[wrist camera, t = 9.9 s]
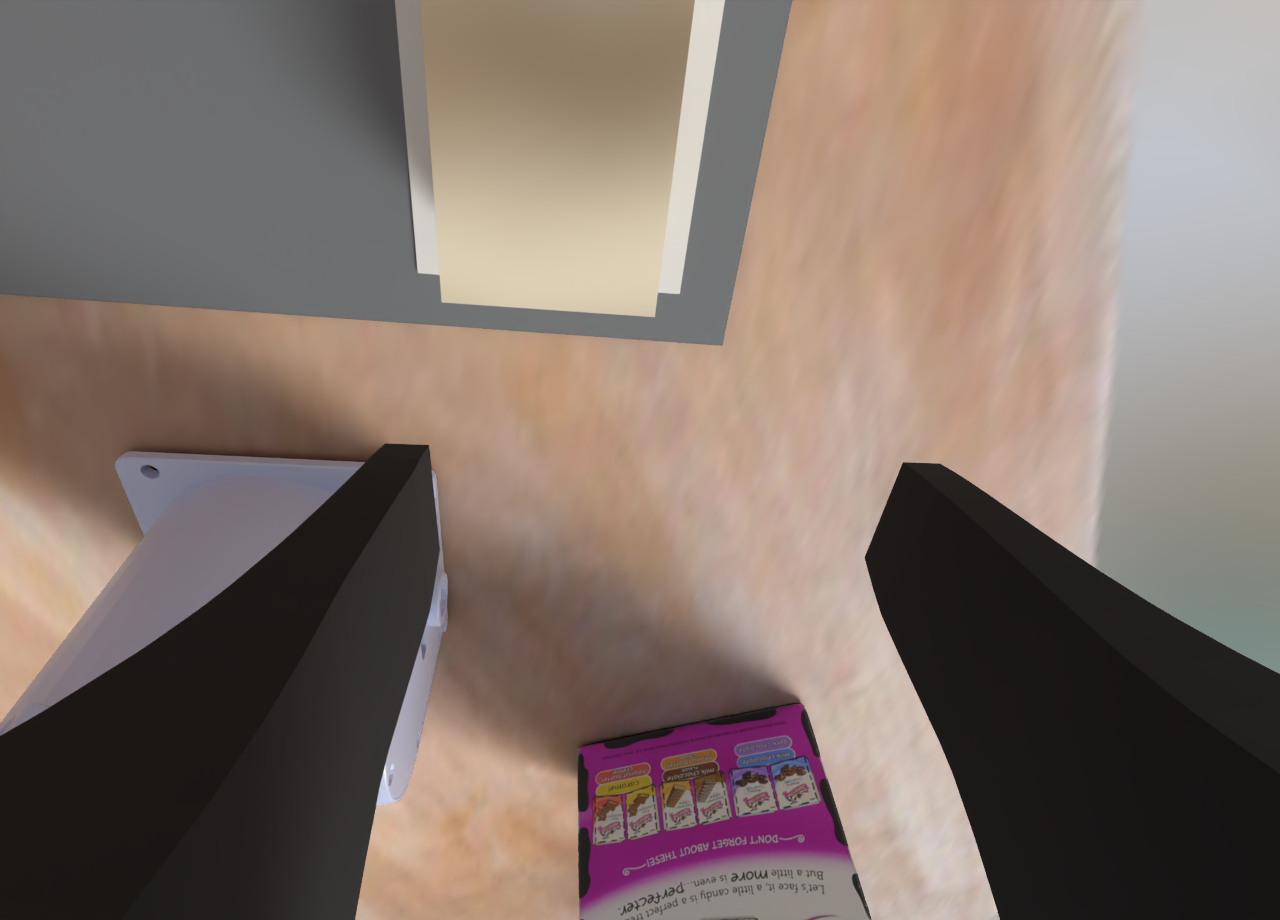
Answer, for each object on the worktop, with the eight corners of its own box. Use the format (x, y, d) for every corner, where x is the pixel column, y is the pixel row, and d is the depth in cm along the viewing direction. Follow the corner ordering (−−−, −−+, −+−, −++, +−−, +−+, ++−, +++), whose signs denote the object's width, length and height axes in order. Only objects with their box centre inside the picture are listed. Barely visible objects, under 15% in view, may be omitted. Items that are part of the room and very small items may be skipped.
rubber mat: (864, -384, 12) (874, -397, 11) (719, 339, 20) (723, 347, 20) (-499, -676, 9) (-547, -706, 9) (-29, 284, 18) (-44, 292, 17)
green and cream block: (643, 254, 18) (656, 317, 15) (466, 239, 17) (440, 302, 14) (694, -226, 12) (734, -293, 9) (442, -268, 12) (392, -355, 9)
